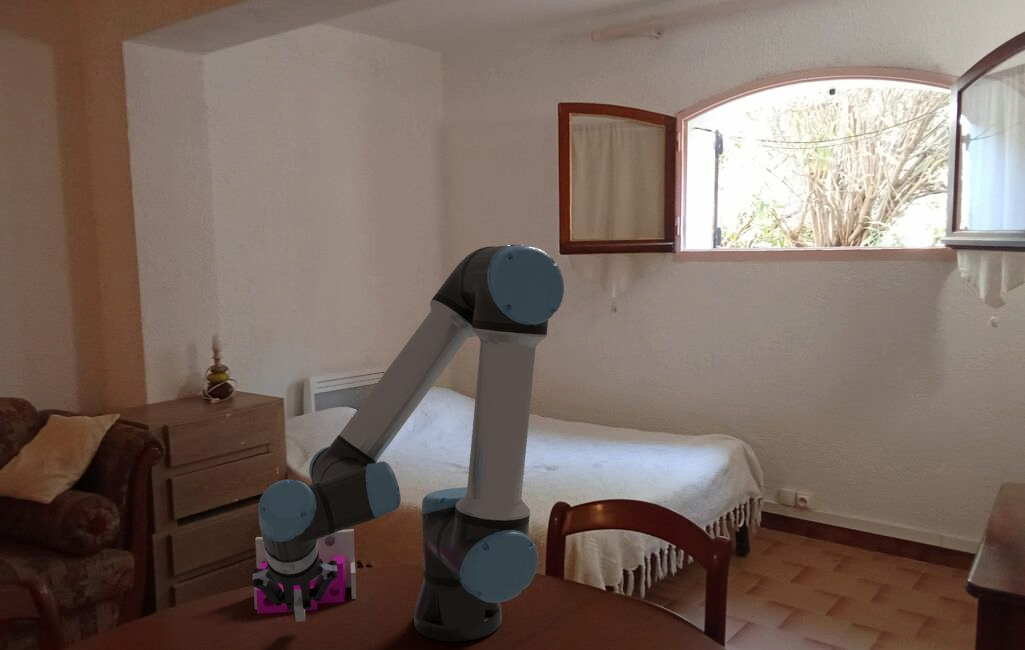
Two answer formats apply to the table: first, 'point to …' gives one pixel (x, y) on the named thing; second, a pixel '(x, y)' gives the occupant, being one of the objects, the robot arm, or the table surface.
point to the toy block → (329, 597)
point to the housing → (325, 555)
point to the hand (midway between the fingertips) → (300, 613)
